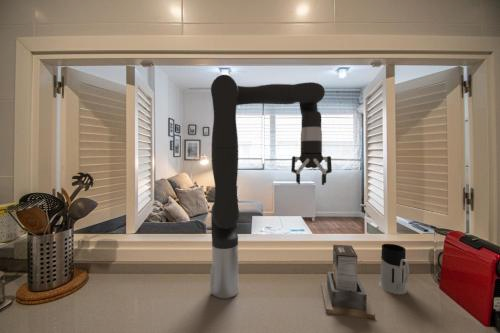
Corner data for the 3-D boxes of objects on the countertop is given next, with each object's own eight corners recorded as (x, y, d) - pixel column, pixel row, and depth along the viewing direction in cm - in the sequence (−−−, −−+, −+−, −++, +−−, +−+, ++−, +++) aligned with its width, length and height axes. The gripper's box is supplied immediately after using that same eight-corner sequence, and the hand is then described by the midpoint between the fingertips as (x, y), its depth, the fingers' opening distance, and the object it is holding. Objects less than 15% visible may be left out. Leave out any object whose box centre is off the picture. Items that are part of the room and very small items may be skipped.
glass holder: (398, 281, 91) (399, 243, 91) (421, 304, 77) (422, 259, 77) (375, 280, 92) (375, 242, 92) (393, 303, 78) (394, 258, 78)
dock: (325, 312, 73) (326, 293, 73) (321, 285, 89) (321, 269, 89) (374, 318, 70) (375, 298, 70) (361, 289, 86) (361, 272, 86)
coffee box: (332, 288, 85) (332, 243, 84) (351, 289, 84) (351, 245, 83) (336, 303, 76) (336, 254, 75) (357, 305, 75) (358, 255, 74)
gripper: (291, 139, 85) (291, 185, 85) (333, 139, 82) (332, 186, 82) (291, 141, 92) (291, 183, 92) (330, 140, 89) (329, 183, 90)
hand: (310, 184), depth 87 cm, fingers open, 8 cm apart
